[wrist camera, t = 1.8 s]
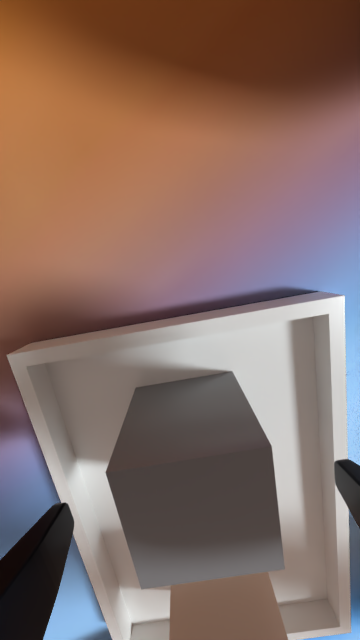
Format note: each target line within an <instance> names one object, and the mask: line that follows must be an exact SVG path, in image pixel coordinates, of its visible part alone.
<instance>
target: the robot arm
mask: <svg viewBox="0 0 360 640" xmlns="http://www.w3.org/2000/svg"><path fill="white" fill-rule="evenodd" d="M334 475H335V484H336V486H337V489H338V491H339V492H340V494H341V496H342V498H343V499H344V501H345V503H346V505H347V507H348V508H349V510H350V512H351V514H352V516H353V517H354V519H355V521H356V523H357V524H358V526H359V528H360V466H359V465H358V464H356V463H354V462H353V461H351V460H349V459H342V460H336V461H335V462H334ZM73 530H74V518H73V516H72V513H71V510H70V507H69V505H68V503H66V502H64V503H57V504H54V505H53V506H52V507H51V508H50V509H49V510H48V511H47V512H46V513H45V514H44V515H43V516H42V517H41V518H40V519H39V520H38V521H37V522H36V523H35V525H34V526H33V527H32V528H31V529H30V530H29V531H28V532H27V533H26V534H25V535H24V536H23V537H22V538H21V539H20V540H19V541H18V542H17V543H16V544H15V545H14V546H13V547H12V548H11V549H10V551H9V552H8V553H7V554H6V555H5V556H4V557H3V558H2V559H1V560H0V640H43V637H44V634H45V631H46V628H47V625H48V622H49V619H50V616H51V613H52V610H53V607H54V603H55V600H56V597H57V594H58V590H59V586H60V583H61V579H62V575H63V571H64V567H65V563H66V559H67V555H68V551H69V546H70V542H71V538H72V534H73Z"/></svg>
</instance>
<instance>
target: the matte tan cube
mask: <svg viewBox="0 0 360 640" xmlns="http://www.w3.org/2000/svg"><path fill="white" fill-rule="evenodd" d="M169 640H288V637H287V634H286V631H285V627H284V624H283V621H282V617H281V614H280V610H279V607H278V604H277V600H276V597H275V593H274V590H273V587H272V583H271V580H270V577H269V573H268V572H262V573H255V574H248V575H241V576H234V577H227V578H219V579H212V580H205V581H198V582H191V583H184V584H177V585H171V589H170V631H169Z"/></svg>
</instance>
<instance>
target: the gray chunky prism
mask: <svg viewBox="0 0 360 640" xmlns="http://www.w3.org/2000/svg"><path fill="white" fill-rule="evenodd" d="M105 473H106V476H107V479H108V483H109V486H110V489H111V492H112V496H113V499H114V502H115V505H116V509H117V512H118V515H119V519H120V522H121V525H122V528H123V532H124V535H125V538H126V541H127V545H128V548H129V551H130V554H131V558H132V561H133V564H134V567H135V571H136V574H137V577H138V580H139V584H140V587H141V589H148V588H155V587H162V586H169V585H177V584H184V583H191V582H198V581H205V580H212V579H219V578H227V577H234V576H241V575H248V574H255V573H262V572H269V571H277V570H284V569H285V566H284V556H283V547H282V538H281V528H280V519H279V509H278V500H277V491H276V481H275V472H274V462H273V453H272V446H271V444H270V442H269V440H268V438H267V436H266V434H265V432H264V431H263V429H262V427H261V425H260V423H259V421H258V419H257V417H256V415H255V413H254V412H253V410H252V408H251V406H250V404H249V402H248V400H247V398H246V396H245V394H244V392H243V391H242V389H241V387H240V385H239V383H238V381H237V379H236V377H235V375H234V373H233V371H230V372H224V373H219V374H213V375H207V376H201V377H195V378H189V379H183V380H177V381H171V382H165V383H159V384H153V385H148V386H142V387H136V388H135V391H134V394H133V396H132V399H131V402H130V405H129V408H128V410H127V413H126V416H125V419H124V422H123V425H122V427H121V430H120V433H119V436H118V439H117V441H116V444H115V447H114V450H113V453H112V456H111V458H110V461H109V464H108V467H107V470H106V472H105Z"/></svg>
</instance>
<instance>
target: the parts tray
mask: <svg viewBox="0 0 360 640" xmlns="http://www.w3.org/2000/svg"><path fill="white" fill-rule="evenodd" d="M7 358H8V361H9V363H10V366H11V369H12V371H13V374H14V377H15V379H16V382H17V385H18V388H19V390H20V393H21V396H22V398H23V401H24V404H25V406H26V409H27V412H28V414H29V417H30V420H31V422H32V425H33V428H34V431H35V433H36V436H37V439H38V441H39V444H40V447H41V449H42V452H43V455H44V457H45V460H46V463H47V465H48V468H49V471H50V474H51V476H52V479H53V482H54V484H55V487H56V490H57V492H58V495H59V498H60V500H61V503H64V502H66V503H68V505H69V507H70V510H71V513H72V516H73V518H74V530H73V535H74V538H75V541H76V543H77V546H78V549H79V551H80V554H81V557H82V560H83V562H84V565H85V568H86V570H87V573H88V576H89V578H90V581H91V584H92V586H93V589H94V592H95V594H96V597H97V600H98V603H99V605H100V608H101V611H102V613H103V616H104V619H105V621H106V624H107V627H108V629H109V632H110V635H111V637H112V640H169V631H170V589H171V585H169V586H162V587H155V588H148V589H141V587H140V584H139V580H138V577H137V574H136V571H135V567H134V564H133V561H132V558H131V554H130V551H129V548H128V545H127V541H126V538H125V535H124V532H123V528H122V525H121V522H120V519H119V515H118V512H117V509H116V505H115V502H114V499H113V496H112V492H111V489H110V486H109V483H108V479H107V476H106V473H105V472H106V470H107V467H108V464H109V461H110V458H111V456H112V453H113V450H114V447H115V444H116V441H117V439H118V436H119V433H120V430H121V427H122V425H123V422H124V419H125V416H126V413H127V410H128V408H129V405H130V402H131V399H132V396H133V394H134V391H135V388H136V387H142V386H148V385H153V384H159V383H165V382H171V381H177V380H183V379H189V378H195V377H201V376H207V375H213V374H219V373H224V372H230V371H233V373H234V375H235V377H236V379H237V381H238V383H239V385H240V387H241V389H242V391H243V392H244V394H245V396H246V398H247V400H248V402H249V404H250V406H251V408H252V410H253V412H254V413H255V415H256V417H257V419H258V421H259V423H260V425H261V427H262V429H263V431H264V432H265V434H266V436H267V438H268V440H269V442H270V444H271V446H272V453H273V462H274V472H275V481H276V491H277V500H278V509H279V519H280V528H281V538H282V547H283V556H284V566H285V569H284V570H277V571H269V572H268V573H269V577H270V580H271V583H272V587H273V590H274V593H275V597H276V600H277V604H278V607H279V610H280V614H281V617H282V621H283V624H284V627H285V631H286V634H287V637H288V640H299V639H306V638H314V637H322V636H329V635H337V634H345V633H351V603H350V552H349V508H348V507H347V505H346V503H345V501H344V499H343V498H342V496H341V494H340V492H339V491H338V489H337V486H336V484H335V475H334V462H335V461H336V460H342V459H348V449H347V397H346V346H345V295H339V294H333V293H327V292H321V291H320V292H314V293H309V294H303V295H297V296H292V297H286V298H281V299H275V300H269V301H264V302H258V303H252V304H247V305H241V306H236V307H230V308H224V309H219V310H213V311H208V312H202V313H196V314H191V315H185V316H179V317H174V318H168V319H163V320H157V321H151V322H146V323H140V324H135V325H129V326H123V327H118V328H112V329H106V330H101V331H95V332H90V333H84V334H78V335H73V336H67V337H62V338H56V339H50V340H45V341H39V342H33V343H30V344H28V345H26V346H24V347H22V348H20V349H18V350H16V351H14V352H12V353H10V354H8V355H7Z"/></svg>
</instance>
